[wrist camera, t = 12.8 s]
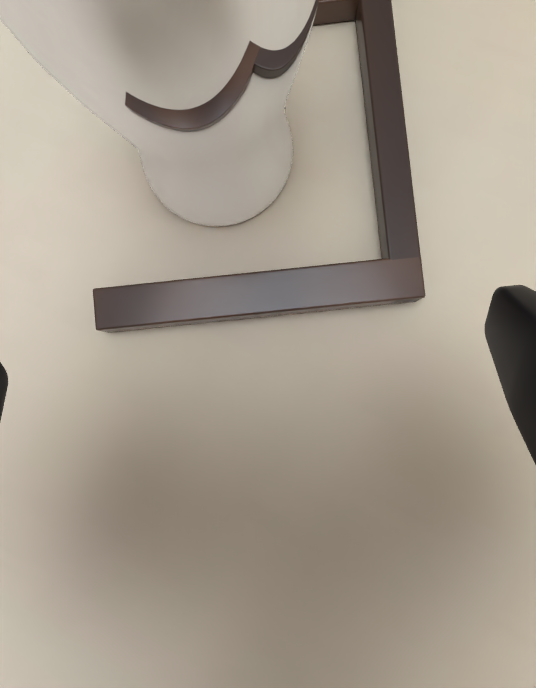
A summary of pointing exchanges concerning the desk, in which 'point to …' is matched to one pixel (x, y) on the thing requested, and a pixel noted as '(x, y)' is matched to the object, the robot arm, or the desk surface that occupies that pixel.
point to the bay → (324, 280)
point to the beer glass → (182, 89)
